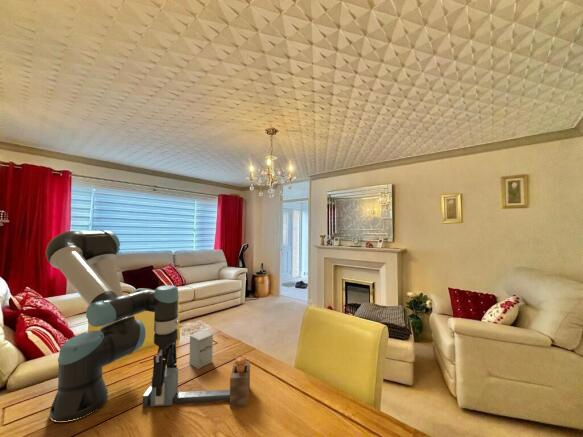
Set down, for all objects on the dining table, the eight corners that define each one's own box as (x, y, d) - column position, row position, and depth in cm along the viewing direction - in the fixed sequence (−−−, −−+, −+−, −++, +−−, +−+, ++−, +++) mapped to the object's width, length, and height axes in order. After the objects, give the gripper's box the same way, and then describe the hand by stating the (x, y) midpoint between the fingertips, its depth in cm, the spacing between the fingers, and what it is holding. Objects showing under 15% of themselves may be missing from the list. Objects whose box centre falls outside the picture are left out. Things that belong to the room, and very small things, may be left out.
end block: (229, 407, 84) (230, 378, 84) (234, 388, 94) (234, 362, 94) (247, 406, 85) (247, 377, 85) (249, 387, 95) (250, 361, 95)
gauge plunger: (234, 380, 87) (234, 362, 88) (236, 374, 91) (236, 356, 91) (245, 380, 88) (245, 361, 88) (246, 373, 92) (246, 356, 92)
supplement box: (198, 369, 106) (198, 340, 107) (189, 363, 111) (189, 335, 111) (212, 362, 112) (213, 334, 112) (203, 356, 117) (203, 329, 117)
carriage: (150, 406, 84) (151, 377, 84) (157, 395, 89) (158, 368, 90) (172, 405, 85) (172, 376, 85) (177, 394, 90) (178, 367, 90)
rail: (142, 407, 84) (142, 395, 84) (149, 397, 89) (149, 386, 89) (230, 402, 87) (231, 391, 87) (233, 392, 92) (233, 382, 92)
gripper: (164, 343, 78) (163, 416, 77) (186, 319, 98) (185, 376, 98) (140, 344, 77) (138, 418, 77) (167, 319, 98) (166, 377, 97)
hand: (164, 395), depth 87 cm, fingers open, 8 cm apart
